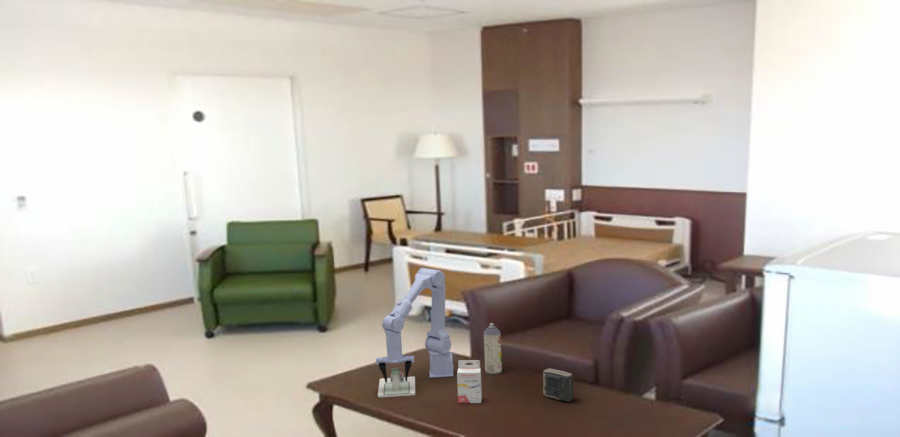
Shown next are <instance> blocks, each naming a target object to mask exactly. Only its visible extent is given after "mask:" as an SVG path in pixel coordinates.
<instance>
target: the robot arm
mask: <svg viewBox="0 0 900 437" xmlns="http://www.w3.org/2000/svg"><path fill="white" fill-rule="evenodd" d="M445 277H446V276H445V273H444V272H443V271H442V270H440V269H432V268H425V267H421V268H419V269H418V271H417V273H416V274H415V275H414V281H413V283H412V285H411V287H410V288H409V290H408V292H407V293H406V296H405V297H404V298H402V299H399V300H398V301H397V303H396V305H395V306H394V308H393V309H392V311H391V312H390V313H389V314H388V315H386V316H385V317H384V318H383V320H382V323H381V327H382V329H383V330H384V334H385V339H386V344H385V345H386V356H384V357H383V356H382V357H377V358H375V365H378V368H379V370H380V371H381V373H382V376H383V378H384V379H385V383H387V378H388V374H387V364H402V363H404V370H405V371H404V372H405V376H404V377H405V381H407V377H409V373H410V370H411V367H412V363H415V356H414V355H403V346H402V345H403V344H402V332H401V331H402V330H403V329H404V325H405V321H406V318H407V317H408V315H409V313H410V312H412V309H413V303H414V301H416V299H417V298H418V297H419V296H420V294H421V292H422V291H423V290H426V289H429V290H430V291H431V313H430V314H431V317H430V320H431V321H430V322H431V323H430V330H428V331H427V332H426V338H425V341H424V347H425V349H426V350H427V351H428V352H427V353H428V354H429V367H430V368H429V371H428V372H429V378H433V379H434V378H447V377H454V370H455V369H454V367H455V366H454V363H453V362H454V360H453V352H451V348H452V343H451V340H450V339H451V338H450V336H451V335H450V334H449V333H448V331H447V330H446V327H445V324H446V283H445V282H446V278H445Z"/></svg>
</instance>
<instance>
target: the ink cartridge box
mask: <svg viewBox="0 0 900 437" xmlns="http://www.w3.org/2000/svg"><path fill="white" fill-rule="evenodd" d="M457 362H458V363H457V364H458V365H457V366H458V368H457V372H456V373H457V374H456V381H457V385H456V386H457V403H458V404H481V403H482V398H483V397H482V396H483V395H482V368H481V360H478V359H472V360H471V359H467V360H462V359H461V360H460V359H459V360H458V361H457ZM468 363H469V364H468Z"/></svg>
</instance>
